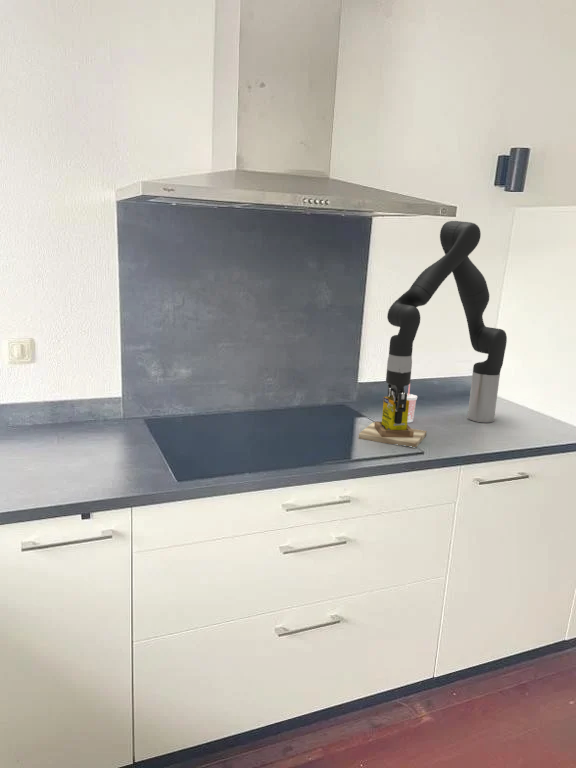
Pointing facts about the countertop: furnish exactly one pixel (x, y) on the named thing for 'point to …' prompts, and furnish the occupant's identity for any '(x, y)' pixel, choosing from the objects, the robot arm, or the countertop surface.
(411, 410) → the beverage cup
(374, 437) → the socket board
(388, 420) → the supplement box
